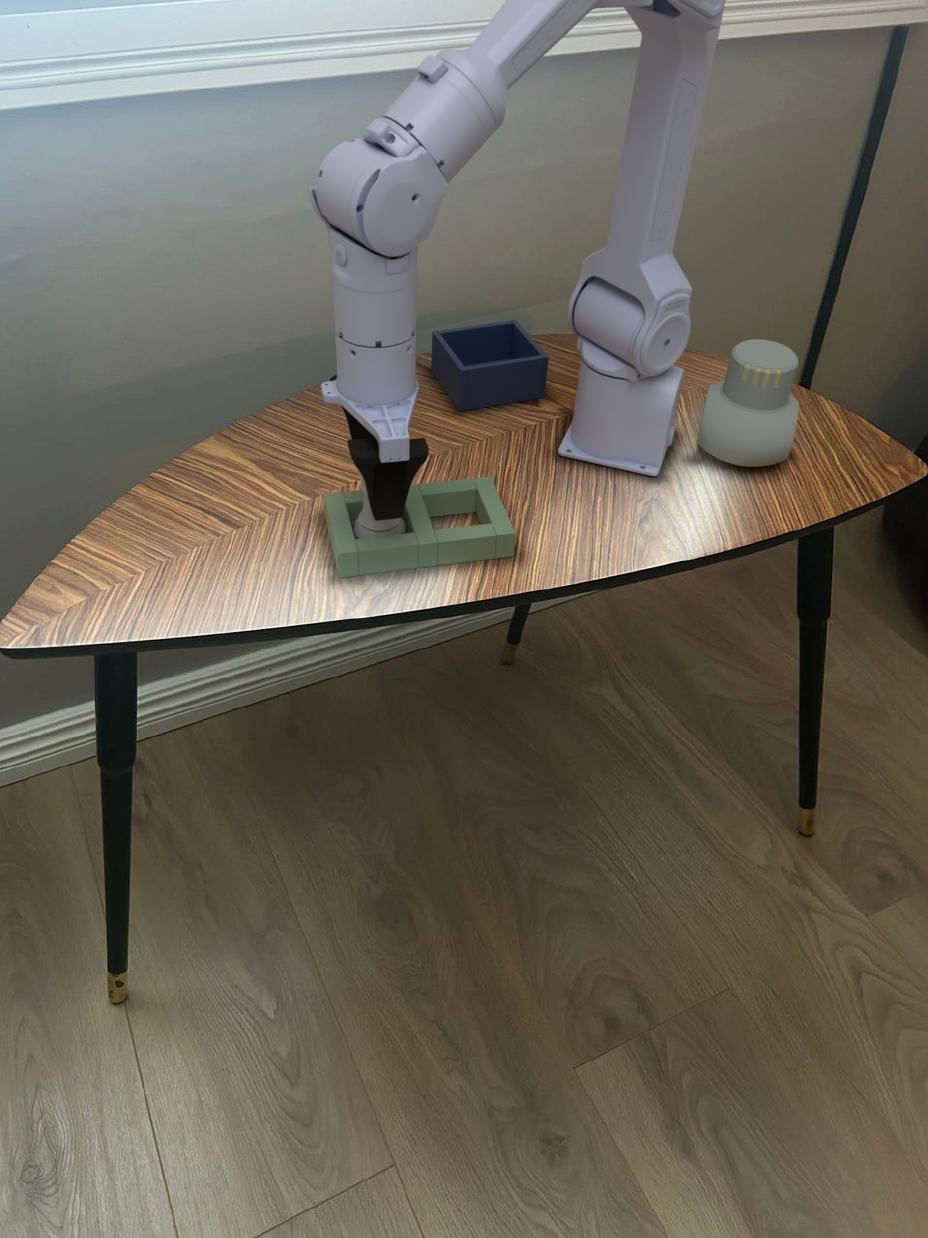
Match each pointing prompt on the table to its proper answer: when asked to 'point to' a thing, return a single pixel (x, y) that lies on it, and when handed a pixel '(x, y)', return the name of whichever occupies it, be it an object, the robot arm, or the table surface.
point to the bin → (489, 365)
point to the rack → (422, 529)
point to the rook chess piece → (375, 522)
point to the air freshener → (752, 406)
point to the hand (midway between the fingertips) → (378, 487)
